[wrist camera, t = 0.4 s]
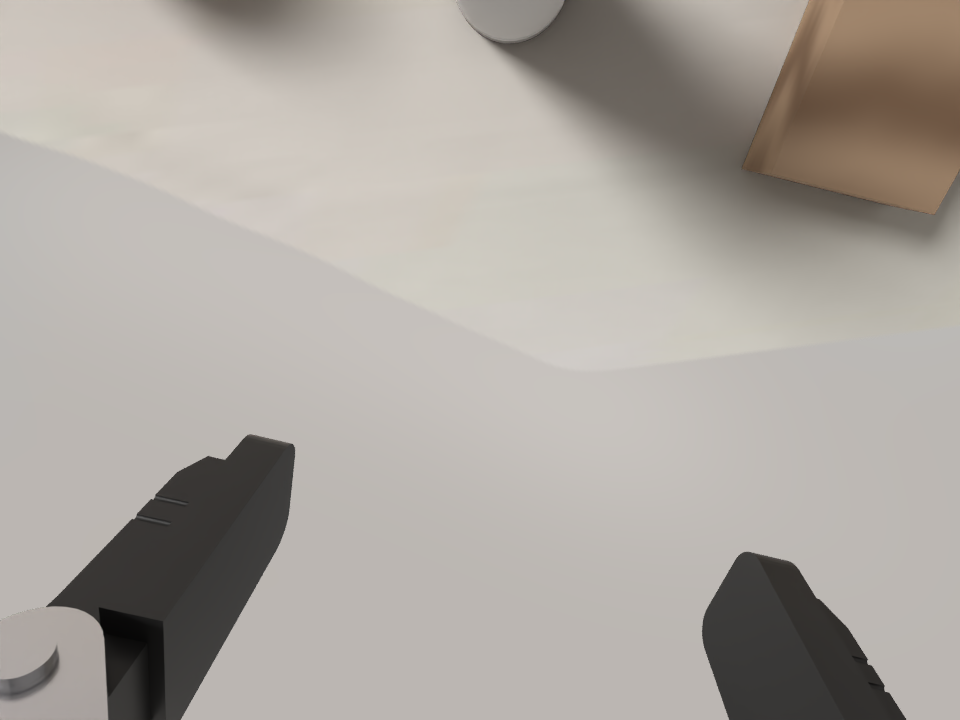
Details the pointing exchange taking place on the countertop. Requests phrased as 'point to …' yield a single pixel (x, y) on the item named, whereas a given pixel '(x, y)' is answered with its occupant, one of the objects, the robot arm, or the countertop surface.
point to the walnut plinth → (868, 103)
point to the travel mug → (510, 17)
